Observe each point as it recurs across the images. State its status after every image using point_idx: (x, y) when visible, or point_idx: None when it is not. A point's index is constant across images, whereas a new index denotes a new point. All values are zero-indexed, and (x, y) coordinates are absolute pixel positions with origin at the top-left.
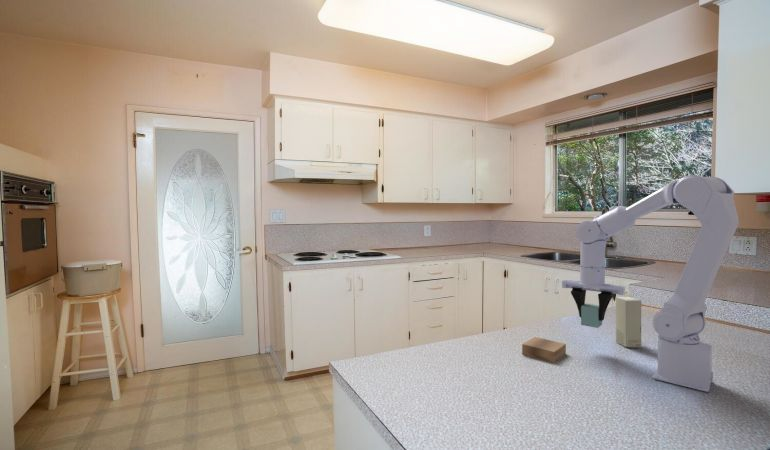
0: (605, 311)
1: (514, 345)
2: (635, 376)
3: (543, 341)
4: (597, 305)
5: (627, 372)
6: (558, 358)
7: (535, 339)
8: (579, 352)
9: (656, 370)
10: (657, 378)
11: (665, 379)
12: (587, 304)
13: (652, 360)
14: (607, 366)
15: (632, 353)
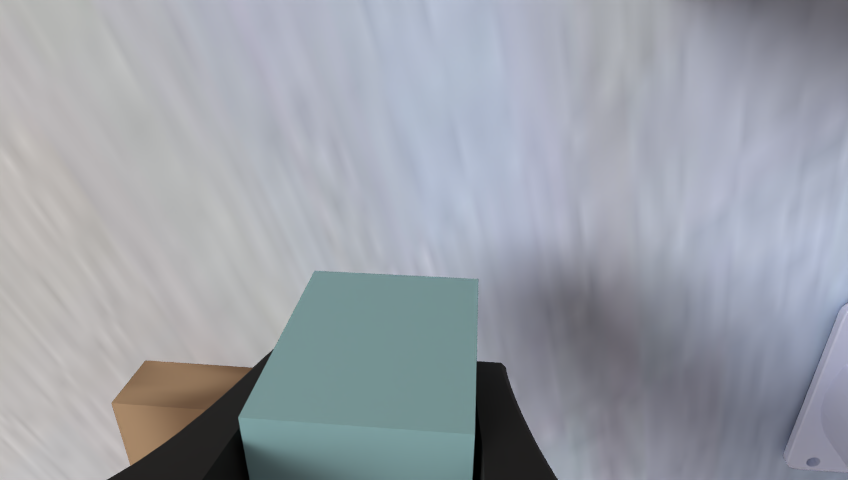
0: (524, 427)
1: (69, 408)
2: (700, 462)
3: None
4: (409, 448)
5: (662, 438)
6: None
7: (145, 442)
8: None
9: (821, 381)
10: (807, 467)
11: (846, 469)
12: (282, 464)
13: (827, 155)
14: (562, 418)
15: (691, 84)
